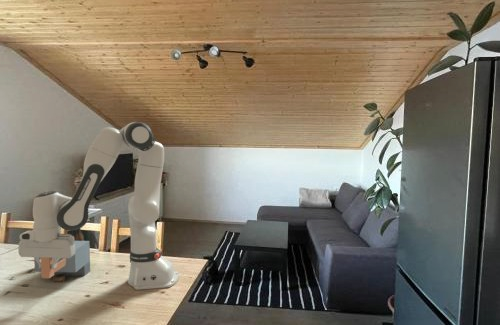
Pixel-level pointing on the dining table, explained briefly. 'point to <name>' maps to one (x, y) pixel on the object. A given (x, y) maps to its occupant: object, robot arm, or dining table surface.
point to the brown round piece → (59, 278)
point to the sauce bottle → (77, 235)
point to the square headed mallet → (45, 266)
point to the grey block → (74, 261)
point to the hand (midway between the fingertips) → (47, 267)
